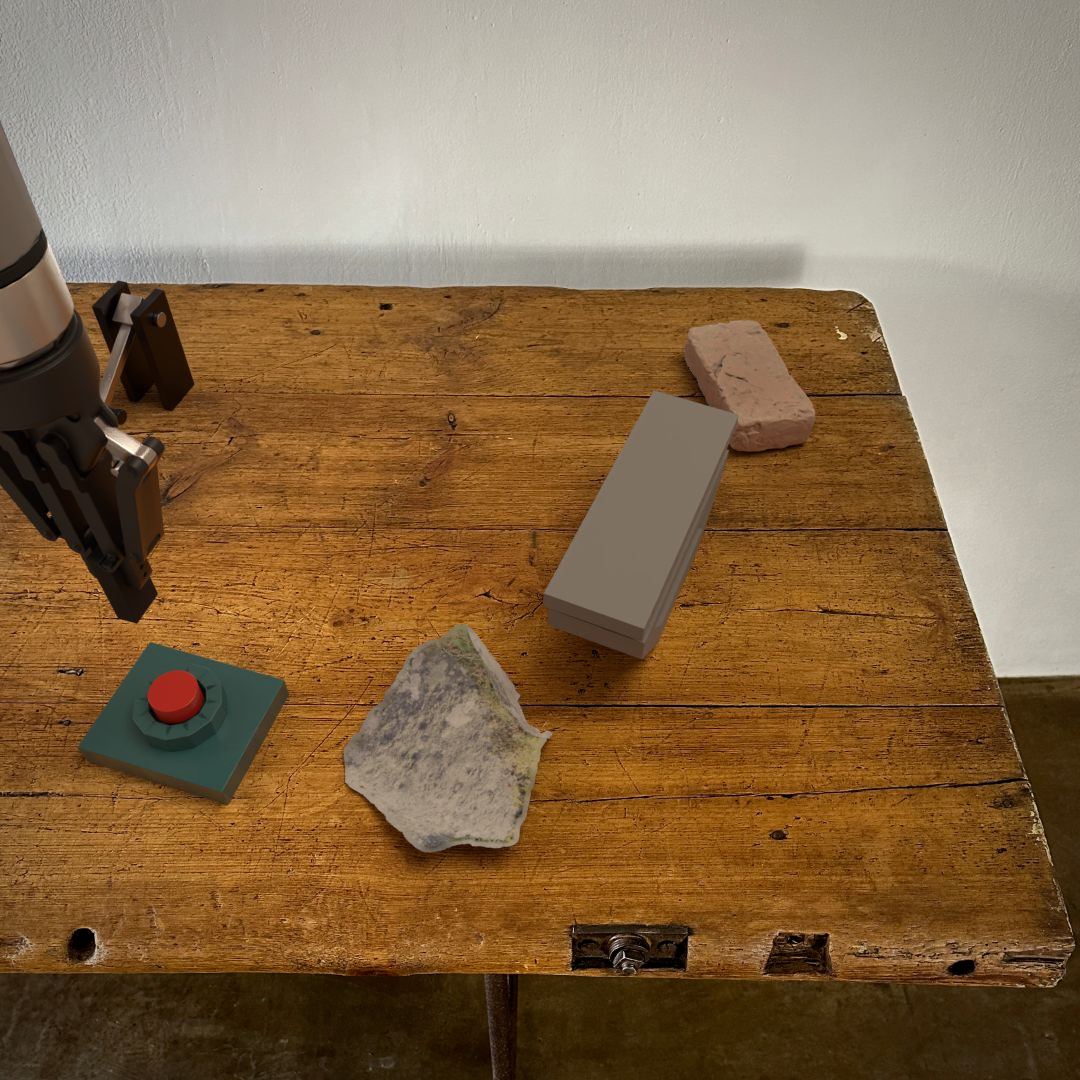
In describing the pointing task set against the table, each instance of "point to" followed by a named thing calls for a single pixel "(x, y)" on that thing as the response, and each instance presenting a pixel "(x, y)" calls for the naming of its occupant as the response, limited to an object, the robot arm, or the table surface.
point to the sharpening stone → (643, 527)
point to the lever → (119, 352)
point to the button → (175, 697)
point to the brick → (749, 384)
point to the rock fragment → (448, 748)
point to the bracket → (148, 347)
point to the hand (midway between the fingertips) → (138, 606)
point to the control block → (187, 725)
